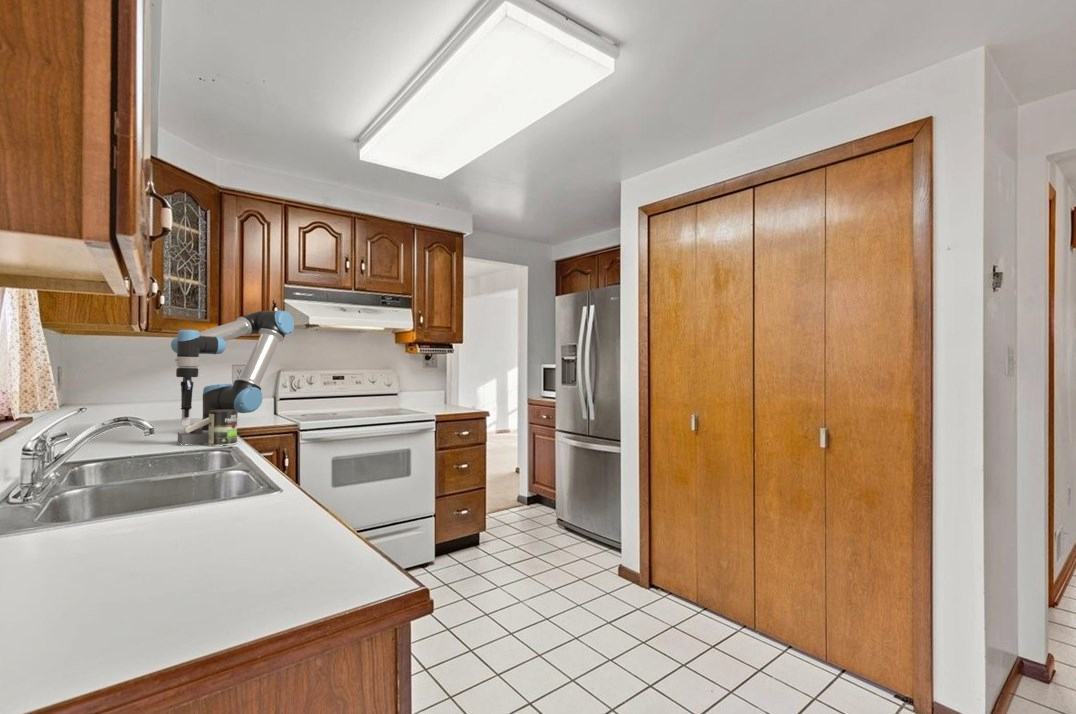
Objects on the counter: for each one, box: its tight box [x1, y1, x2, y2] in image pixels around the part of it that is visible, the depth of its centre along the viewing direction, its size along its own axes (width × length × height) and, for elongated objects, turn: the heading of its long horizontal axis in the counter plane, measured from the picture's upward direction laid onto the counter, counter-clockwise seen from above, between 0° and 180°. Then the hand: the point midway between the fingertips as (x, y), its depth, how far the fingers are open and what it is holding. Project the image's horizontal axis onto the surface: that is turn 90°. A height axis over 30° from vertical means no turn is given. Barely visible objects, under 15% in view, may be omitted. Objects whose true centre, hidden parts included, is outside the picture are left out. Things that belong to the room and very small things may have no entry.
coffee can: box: [207, 409, 238, 447], centre depth 214 cm, size 10×10×14 cm
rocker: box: [183, 417, 209, 433], centre depth 217 cm, size 4×10×2 cm, turn 131°
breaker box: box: [177, 428, 209, 446], centre depth 219 cm, size 13×12×6 cm
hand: (185, 425), depth 214 cm, fingers closed
